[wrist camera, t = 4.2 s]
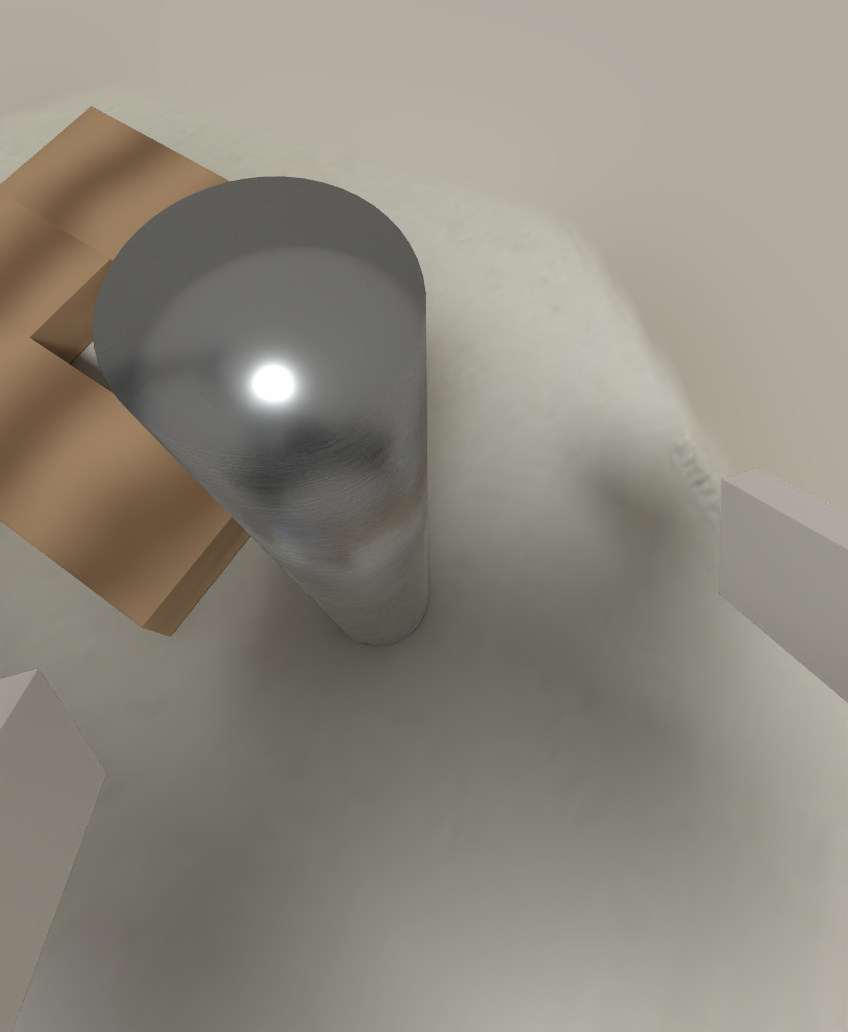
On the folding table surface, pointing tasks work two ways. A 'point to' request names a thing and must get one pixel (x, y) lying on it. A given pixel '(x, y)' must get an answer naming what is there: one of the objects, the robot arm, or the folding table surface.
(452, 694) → the folding table surface
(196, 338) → the steel peg
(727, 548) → the robot arm
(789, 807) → the folding table surface
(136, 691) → the folding table surface
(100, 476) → the walnut hole block
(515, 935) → the folding table surface
